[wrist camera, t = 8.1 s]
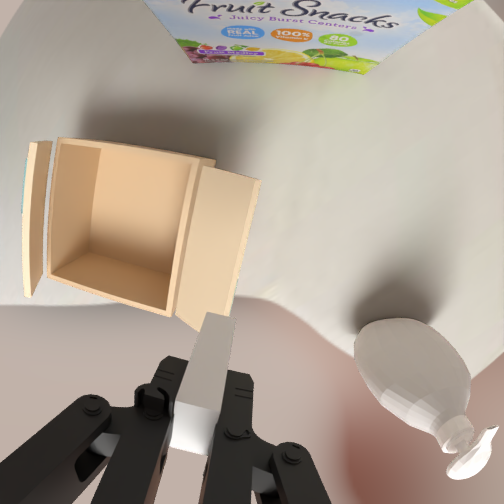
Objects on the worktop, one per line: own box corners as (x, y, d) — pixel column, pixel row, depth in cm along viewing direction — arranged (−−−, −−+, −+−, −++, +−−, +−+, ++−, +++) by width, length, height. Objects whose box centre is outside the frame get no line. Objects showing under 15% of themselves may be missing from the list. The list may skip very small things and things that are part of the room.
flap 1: (42, 273, 30) (35, 272, 30) (52, 141, 26) (44, 140, 26) (31, 297, 25) (22, 296, 25) (37, 142, 21) (28, 142, 21)
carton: (86, 253, 40) (47, 277, 31) (101, 140, 36) (58, 137, 26) (191, 282, 41) (170, 317, 31) (216, 159, 36) (199, 158, 27)
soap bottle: (437, 298, 40) (549, 413, 14) (425, 345, 42) (510, 468, 17) (348, 301, 41) (428, 461, 15) (341, 351, 43) (393, 511, 17)
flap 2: (216, 345, 28) (224, 342, 28) (255, 179, 24) (263, 180, 24) (175, 314, 31) (182, 312, 32) (203, 165, 27) (210, 166, 28)
